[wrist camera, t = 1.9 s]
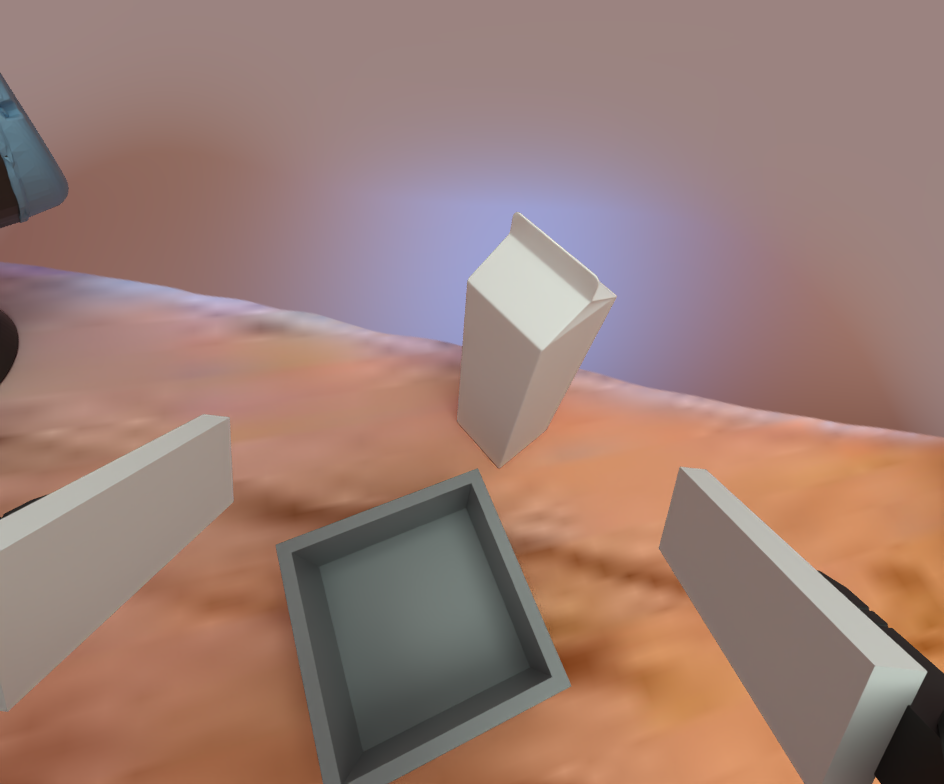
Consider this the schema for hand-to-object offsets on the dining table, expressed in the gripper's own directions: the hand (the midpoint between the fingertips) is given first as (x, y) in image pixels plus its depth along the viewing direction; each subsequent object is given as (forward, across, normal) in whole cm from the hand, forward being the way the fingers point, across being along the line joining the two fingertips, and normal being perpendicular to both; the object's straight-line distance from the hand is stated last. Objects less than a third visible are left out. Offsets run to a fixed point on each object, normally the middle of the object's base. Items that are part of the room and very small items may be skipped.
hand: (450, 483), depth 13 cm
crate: (+15, -2, -19) cm, 25 cm away
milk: (+27, +3, -8) cm, 28 cm away
